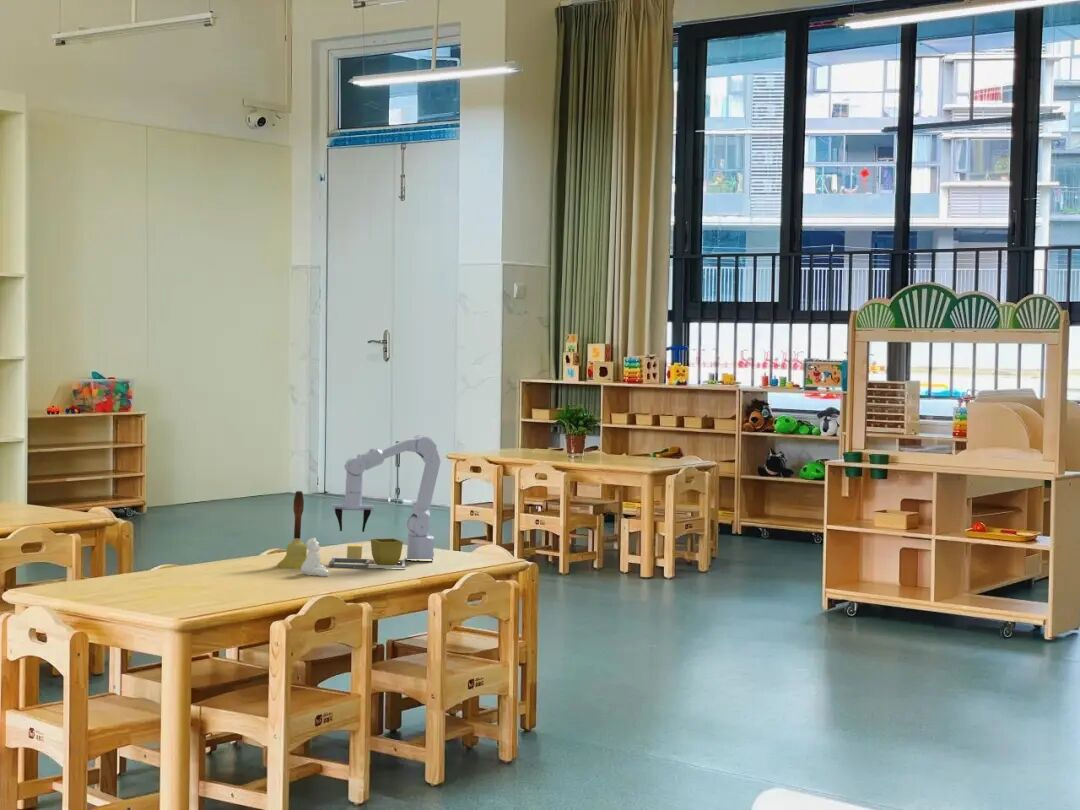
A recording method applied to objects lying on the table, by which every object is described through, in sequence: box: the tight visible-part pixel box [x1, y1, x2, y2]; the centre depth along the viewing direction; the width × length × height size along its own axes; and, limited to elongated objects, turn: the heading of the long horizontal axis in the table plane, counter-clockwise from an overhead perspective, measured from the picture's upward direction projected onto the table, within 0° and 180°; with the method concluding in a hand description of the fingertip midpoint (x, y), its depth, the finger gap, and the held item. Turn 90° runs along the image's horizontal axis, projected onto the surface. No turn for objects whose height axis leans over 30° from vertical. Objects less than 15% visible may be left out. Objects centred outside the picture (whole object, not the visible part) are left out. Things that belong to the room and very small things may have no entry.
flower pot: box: [370, 537, 404, 566], centre depth 449 cm, size 9×9×9 cm
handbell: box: [277, 490, 308, 569], centre depth 442 cm, size 12×12×25 cm
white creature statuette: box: [300, 537, 330, 577], centre depth 426 cm, size 10×9×12 cm
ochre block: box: [346, 543, 363, 559], centre depth 461 cm, size 5×5×5 cm
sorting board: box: [329, 557, 406, 569], centre depth 449 cm, size 25×13×1 cm, turn 96°
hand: (352, 531), depth 457 cm, fingers open, 7 cm apart
